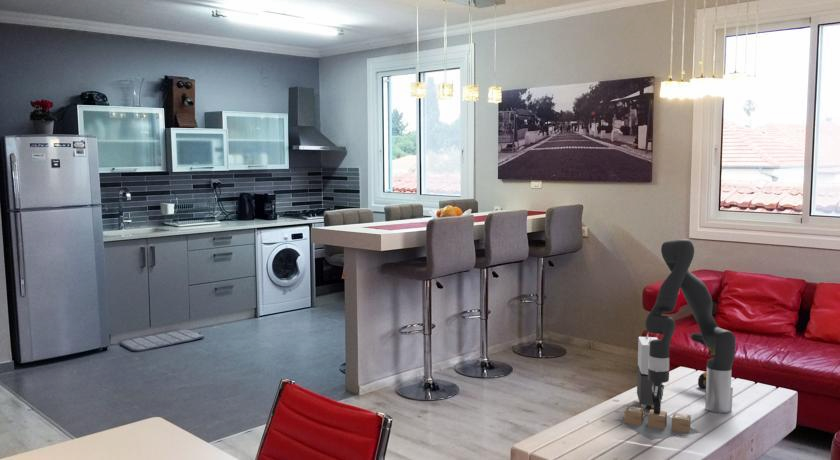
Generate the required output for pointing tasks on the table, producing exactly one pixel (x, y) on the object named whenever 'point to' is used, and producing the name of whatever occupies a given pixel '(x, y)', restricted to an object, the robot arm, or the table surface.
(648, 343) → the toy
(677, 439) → the table surface
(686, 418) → the marked block 2
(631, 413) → the marked block 1
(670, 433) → the mat
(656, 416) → the plain block
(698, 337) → the power drill
